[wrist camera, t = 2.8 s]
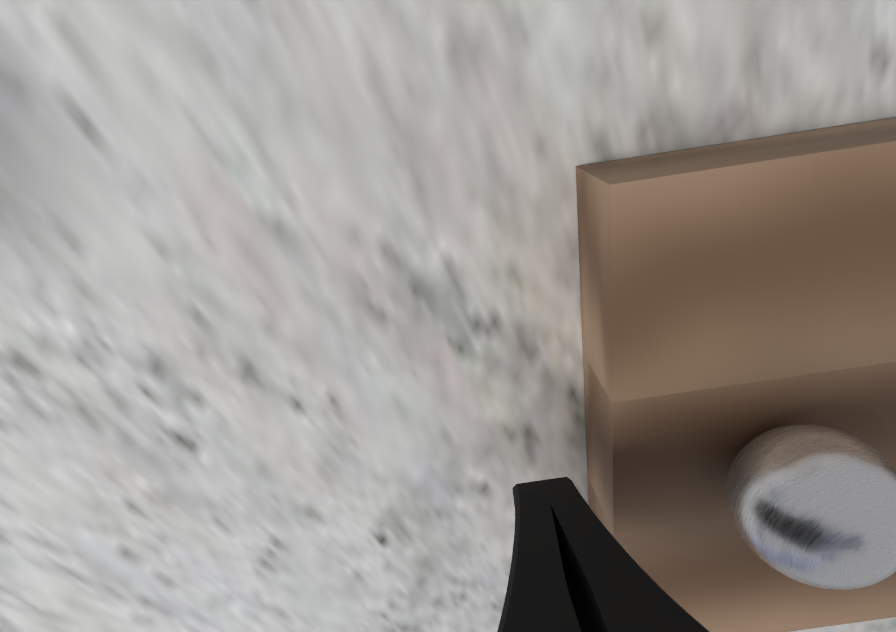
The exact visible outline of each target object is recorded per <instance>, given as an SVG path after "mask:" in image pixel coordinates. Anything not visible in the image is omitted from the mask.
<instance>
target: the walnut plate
mask: <svg viewBox="0 0 896 632" xmlns="http://www.w3.org/2000/svg"><path fill="white" fill-rule="evenodd" d="M576 184H577V210H578V236H579V262H580V288H581V314H582V340H583V366H584V392H585V418H586V444H587V471H588V497H589V507H590V508H591V510H592V511H593V512H594V513H595V515H596V516H597V517H598V519H599V520H600V521H601V522H602V524H603V525H604V526H605V527H606V529H607V530H608V531H609V532H610V533H611V534H612V536H613V537H614V538H615V539H616V540H617V541H618V543H619V544H620V545H621V546H622V547H623V548H624V549H625V551H626V552H627V553H628V554H629V555H630V556H631V557H632V558H633V559H634V561H635V562H636V563H637V564H638V565H639V566H640V567H641V568H642V569H643V570H644V571H645V572H646V573H647V574H648V575H649V576H650V577H651V578H652V579H653V580H654V581H655V582H656V583H657V584H658V585H659V586H660V587H661V588H662V589H663V590H664V591H665V592H666V593H667V594H668V595H669V596H670V597H671V598H672V599H673V600H675V601H676V602H677V603H678V604H679V605H680V606H681V607H682V608H683V609H684V610H685V611H686V612H688V613H689V614H690V615H691V616H692V617H693V618H695V619H696V620H697V621H698V622H699V623H700V624H701V625H703V626H704V627H705V628H706V629H707V630H708V631H710V632H788V631H795V630H803V629H810V628H817V627H825V626H832V625H840V624H847V623H854V622H862V621H869V620H877V619H884V618H891V617H896V572H895V573H893V574H892V575H890V576H889V577H887V578H886V579H884V580H882V581H880V582H878V583H875V584H873V585H870V586H866V587H862V588H856V589H847V590H836V589H825V588H820V587H815V586H811V585H807V584H804V583H802V582H799V581H796V580H794V579H792V578H789V577H788V576H786V575H784V574H782V573H780V572H779V571H777V570H775V569H774V568H772V567H771V566H770V565H768V564H767V563H766V562H764V561H763V560H762V559H761V558H760V557H759V556H758V555H757V554H755V553H754V552H753V550H752V549H751V548H750V547H749V546H748V545H747V543H746V542H745V541H744V540H743V538H742V536H741V535H740V533H739V532H738V530H737V528H736V527H735V524H734V522H733V520H732V517H731V514H730V512H729V507H728V503H727V494H726V485H727V479H728V473H729V470H730V467H731V465H732V463H733V461H734V459H735V457H736V456H737V454H738V453H739V452H740V450H741V449H742V448H743V447H744V446H745V445H746V444H747V443H748V442H750V441H751V440H752V439H754V438H755V437H757V436H758V435H760V434H762V433H764V432H766V431H769V430H771V429H774V428H777V427H782V426H787V425H796V424H808V425H819V426H825V427H829V428H833V429H837V430H840V431H842V432H845V433H848V434H850V435H852V436H855V437H856V438H858V439H860V440H862V441H864V442H866V443H867V444H869V445H870V446H871V447H873V448H874V449H876V450H877V451H879V452H880V453H881V454H882V455H883V456H884V457H885V458H886V459H887V460H888V461H889V462H890V463H891V464H892V465H893V466H894V467H895V468H896V117H893V118H886V119H880V120H873V121H867V122H860V123H854V124H847V125H841V126H834V127H828V128H821V129H815V130H808V131H802V132H795V133H789V134H782V135H776V136H770V137H763V138H757V139H750V140H744V141H737V142H731V143H724V144H718V145H711V146H705V147H698V148H692V149H685V150H679V151H672V152H666V153H659V154H653V155H646V156H640V157H633V158H627V159H620V160H614V161H607V162H601V163H594V164H588V165H581V166H576Z"/></svg>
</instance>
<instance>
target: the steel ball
mask: <svg viewBox="0 0 896 632" xmlns="http://www.w3.org/2000/svg"><path fill="white" fill-rule="evenodd" d="M726 494H727V503H728V507H729V512H730V514H731V517H732V520H733V522H734V524H735V527H736V528H737V530H738V532H739V533H740V535H741V536H742V538H743V540H744V541H745V542H746V543H747V545H748V546H749V547H750V548H751V549H752V550H753V552H754V553H755V554H757V555H758V556H759V557H760V558H761V559H762V560H763V561H764V562H766V563H767V564H768V565H770V566H771V567H772V568H774V569H775V570H777V571H779V572H780V573H782V574H784V575H786V576H788V577H789V578H792V579H794V580H796V581H799V582H802V583H804V584H807V585H811V586H815V587H820V588H825V589H836V590H847V589H856V588H862V587H866V586H870V585H873V584H875V583H878V582H880V581H882V580H884V579H886V578H887V577H889V576H890V575H892V574H893V573H895V572H896V468H895V467H894V466H893V465H892V464H891V463H890V462H889V461H888V460H887V459H886V458H885V457H884V456H883V455H882V454H881V453H880V452H879V451H877V450H876V449H874V448H873V447H871V446H870V445H869V444H867V443H866V442H864V441H862V440H860V439H858V438H856V437H855V436H852V435H850V434H848V433H845V432H842V431H840V430H837V429H833V428H829V427H825V426H819V425H808V424H796V425H787V426H782V427H777V428H774V429H771V430H769V431H766V432H764V433H762V434H760V435H758V436H757V437H755V438H754V439H752V440H751V441H750V442H748V443H747V444H746V445H745V446H744V447H743V448H742V449H741V450H740V452H739V453H738V454H737V456H736V457H735V459H734V461H733V463H732V465H731V467H730V470H729V473H728V479H727V485H726Z"/></svg>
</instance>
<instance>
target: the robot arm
mask: <svg viewBox="0 0 896 632" xmlns="http://www.w3.org/2000/svg"><path fill="white" fill-rule="evenodd" d="M513 496H514V504H515V535H514V545H513V555H512V563H511V569H510V575H509V581H508V587H507V592H506V597H505V602H504V607H503V611H502V616H501V620H500V624H499V628H498V632H710V631H708V630H707V629H706V628H705V627H704V626H703V625H701V624H700V623H699V622H698V621H697V620H696V619H695V618H693V617H692V616H691V615H690V614H689V613H688V612H686V611H685V610H684V609H683V608H682V607H681V606H680V605H679V604H678V603H677V602H676V601H675V600H673V599H672V598H671V597H670V596H669V595H668V594H667V593H666V592H665V591H664V590H663V589H662V588H661V587H660V586H659V585H658V584H657V583H656V582H655V581H654V580H653V579H652V578H651V577H650V576H649V575H648V574H647V573H646V572H645V571H644V570H643V569H642V568H641V567H640V566H639V565H638V564H637V563H636V562H635V561H634V559H633V558H632V557H631V556H630V555H629V554H628V553H627V552H626V551H625V549H624V548H623V547H622V546H621V545H620V544H619V543H618V541H617V540H616V539H615V538H614V537H613V536H612V534H611V533H610V532H609V531H608V530H607V529H606V527H605V526H604V525H603V524H602V522H601V521H600V520H599V519H598V517H597V516H596V515H595V513H594V512H593V511H592V510H591V508H590V507H589V506H588V504H587V503H586V501H585V500H584V499H583V497H582V496H581V494H580V493H579V492H578V490H577V489H576V487H575V486H574V484H573V482H572V481H571V480H570V479H569V478H567V477H562V478H555V479H548V480H541V481H535V482H528V483H521V484H516V485H515V486H514V487H513Z"/></svg>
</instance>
